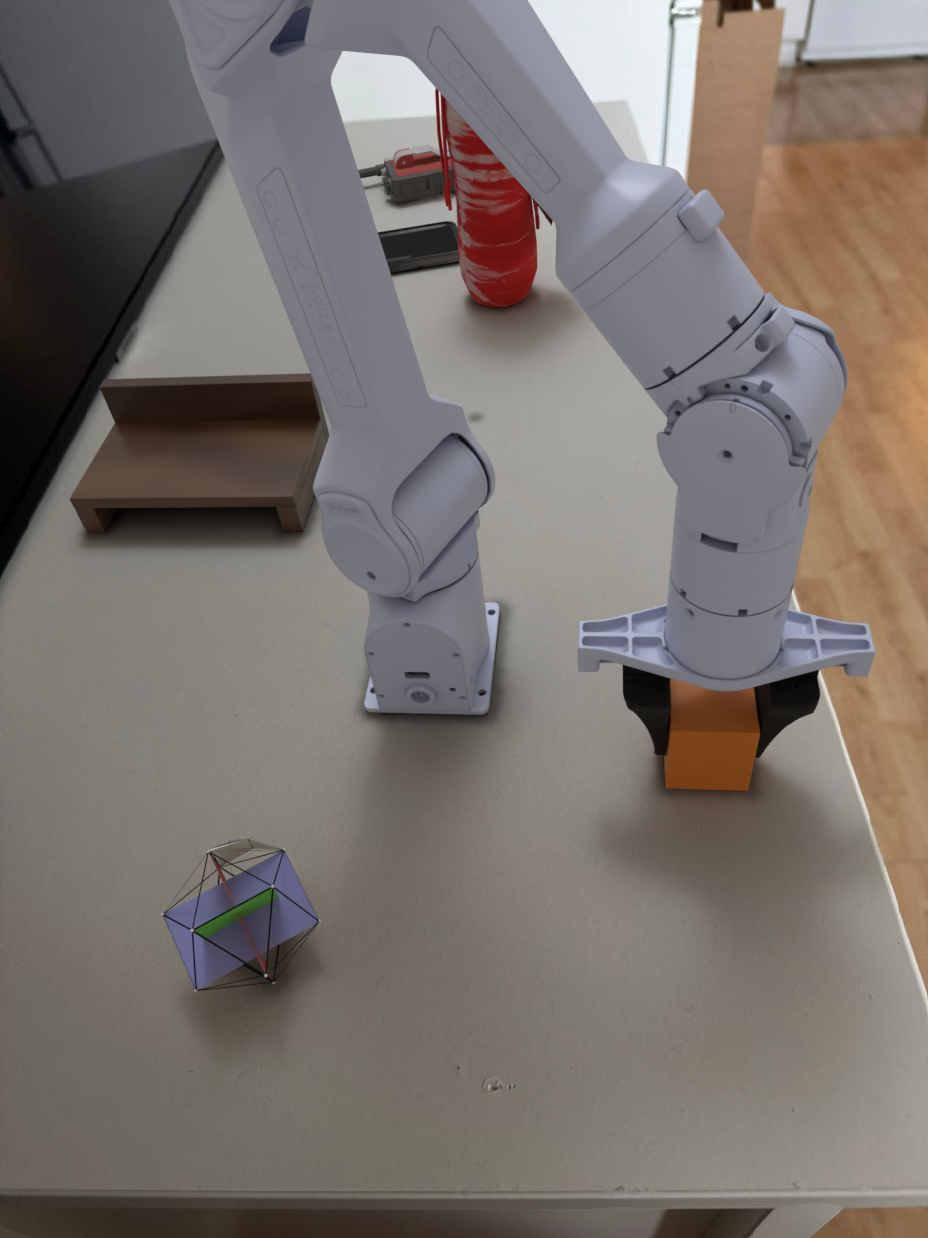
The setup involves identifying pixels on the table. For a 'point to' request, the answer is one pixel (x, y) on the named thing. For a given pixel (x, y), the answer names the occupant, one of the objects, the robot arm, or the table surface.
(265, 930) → the geometric puzzle
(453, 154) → the water bottle
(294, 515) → the shelf
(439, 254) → the phone
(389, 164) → the walkie-talkie
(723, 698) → the orange cube-like block
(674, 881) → the table surface
